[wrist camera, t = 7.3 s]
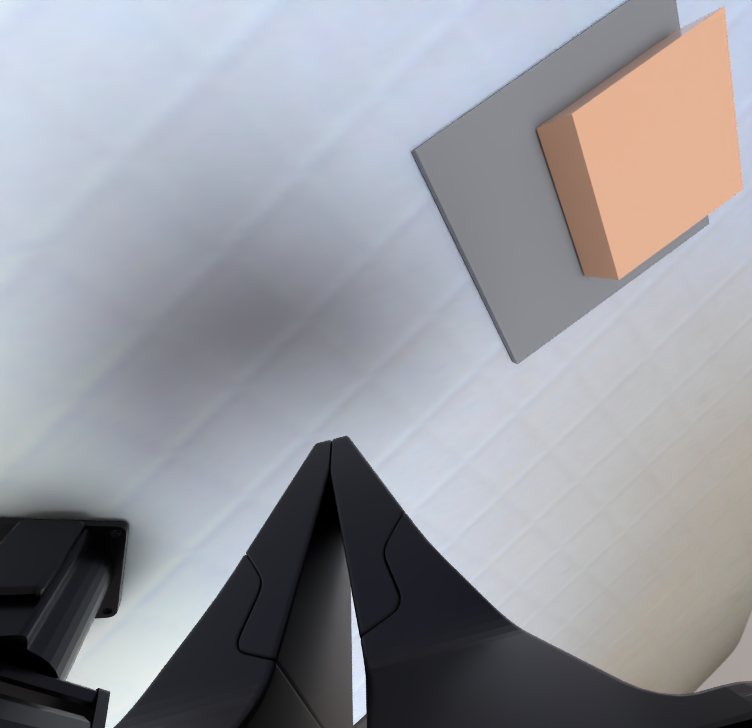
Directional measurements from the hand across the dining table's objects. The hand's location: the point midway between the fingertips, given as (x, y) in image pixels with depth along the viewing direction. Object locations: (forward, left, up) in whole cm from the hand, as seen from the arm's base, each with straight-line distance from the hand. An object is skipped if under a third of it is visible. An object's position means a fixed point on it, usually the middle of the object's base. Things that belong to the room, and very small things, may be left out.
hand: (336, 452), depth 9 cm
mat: (+12, -14, -11) cm, 21 cm away
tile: (+11, -13, -9) cm, 19 cm away
